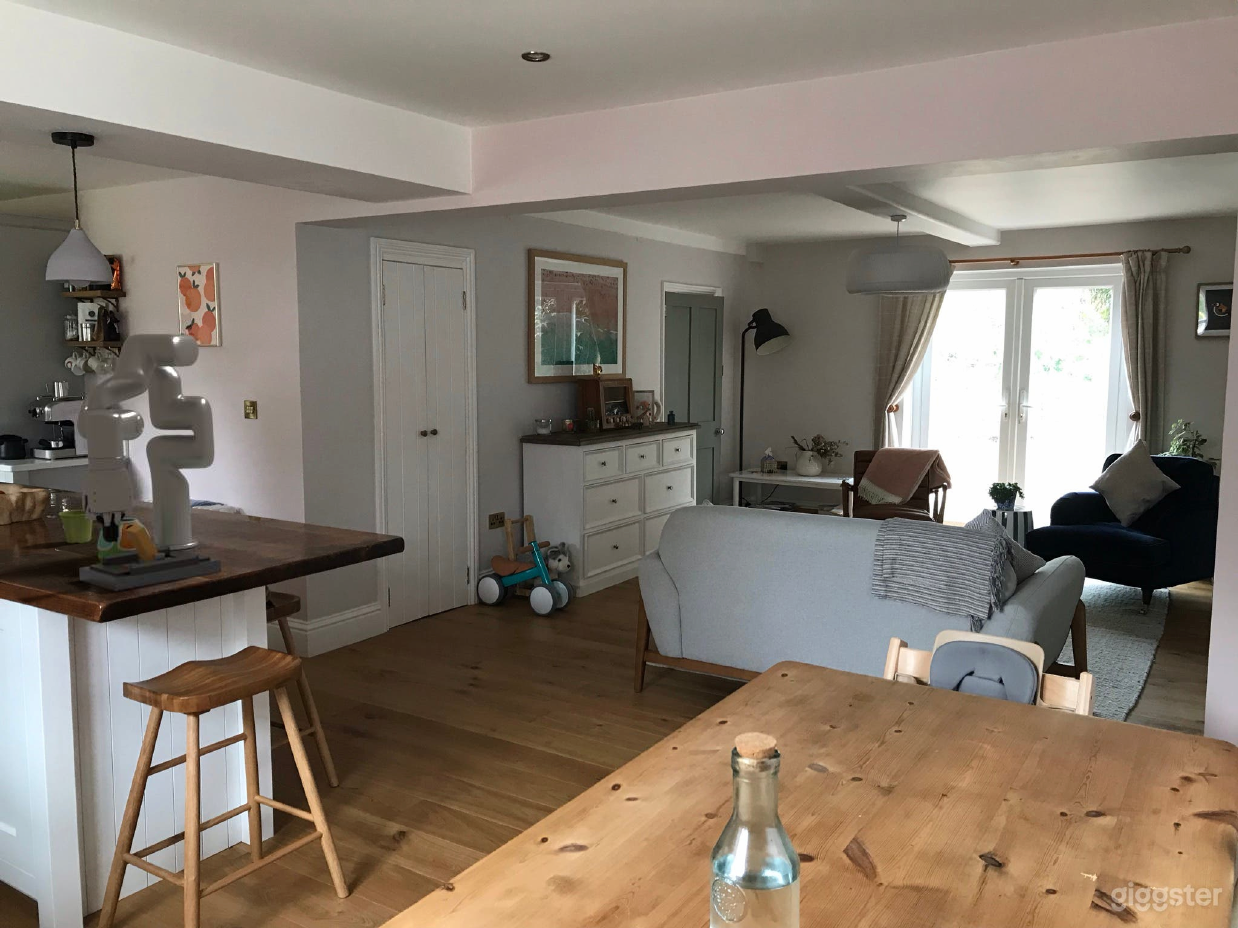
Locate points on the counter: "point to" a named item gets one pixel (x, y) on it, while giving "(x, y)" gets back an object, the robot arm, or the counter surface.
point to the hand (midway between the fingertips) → (111, 541)
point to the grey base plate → (121, 579)
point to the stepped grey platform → (151, 566)
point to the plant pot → (76, 526)
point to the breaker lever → (142, 542)
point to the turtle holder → (123, 540)
